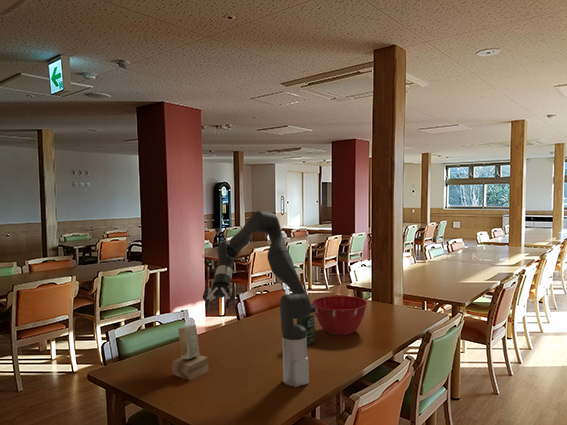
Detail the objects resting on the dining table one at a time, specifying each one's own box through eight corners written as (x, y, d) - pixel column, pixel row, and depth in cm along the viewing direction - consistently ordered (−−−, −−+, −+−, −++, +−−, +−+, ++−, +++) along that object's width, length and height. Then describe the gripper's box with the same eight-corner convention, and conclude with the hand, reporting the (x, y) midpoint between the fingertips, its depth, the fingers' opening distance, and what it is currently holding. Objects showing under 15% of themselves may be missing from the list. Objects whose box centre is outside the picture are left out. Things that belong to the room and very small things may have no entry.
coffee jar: (304, 347, 196) (303, 307, 196) (293, 343, 202) (292, 304, 202) (319, 342, 203) (318, 303, 202) (307, 338, 209) (306, 301, 208)
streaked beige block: (208, 372, 171) (208, 357, 171) (190, 381, 163) (190, 365, 163) (190, 367, 177) (190, 352, 176) (172, 375, 168) (171, 360, 168)
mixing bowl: (338, 344, 199) (338, 312, 198) (301, 330, 222) (300, 301, 221) (379, 332, 216) (378, 302, 215) (340, 320, 239) (339, 293, 238)
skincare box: (192, 355, 174) (189, 325, 175) (200, 355, 171) (196, 324, 173) (180, 359, 168) (177, 328, 170) (188, 359, 166) (184, 327, 168)
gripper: (206, 272, 193) (198, 303, 182) (236, 272, 191) (231, 303, 180) (209, 282, 198) (203, 312, 187) (239, 282, 196) (234, 313, 185)
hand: (216, 308), depth 183 cm, fingers open, 8 cm apart
